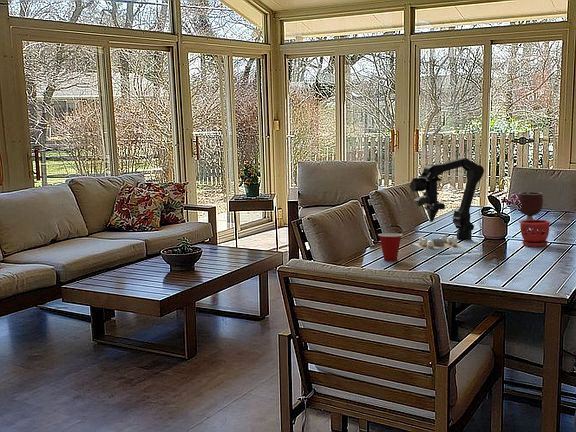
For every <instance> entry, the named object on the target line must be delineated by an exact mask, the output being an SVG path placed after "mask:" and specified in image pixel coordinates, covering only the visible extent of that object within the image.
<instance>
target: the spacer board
mask: <svg viewBox="0 0 576 432" xmlns="http://www.w3.org/2000/svg"><path fill="white" fill-rule="evenodd" d="M412 245H414V246H416V247H419V248H421V249H423V250H432V249H435V250H436V249H445V248H446V249H447V248H453V247H452V245H450V244H449V240H447V243H445V245H444V246H434V248H432V249H430V248H428V241H427V246H426V247H423V246H422V244H419V242H416V243H412ZM458 247H459V248H460V247H463V245H462V244H459V243H457V247H456V248H458Z"/></svg>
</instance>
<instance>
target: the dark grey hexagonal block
mask: <svg viewBox="0 0 576 432" xmlns="http://www.w3.org/2000/svg"><path fill="white" fill-rule="evenodd" d="M431 240H433V241H434V246H444V245H445V240H444V239H442V238H433V239H431Z"/></svg>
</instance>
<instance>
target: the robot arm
mask: <svg viewBox="0 0 576 432" xmlns="http://www.w3.org/2000/svg"><path fill="white" fill-rule="evenodd" d="M459 168H462V169H463V170H465V172H466V175H465V176H466V177H465V178H466V185H465V188H464V191H463V195H462V199H461V202H460V205H459V208H458V209H457V210H454V211H453V216H452V217H451V218H452V222H453V224H454V226H455V228H456V229H457V231H456V239H457V241H470V242H474V240H473V238H472V237H473V236H472V235H473V233H472V231H474V228H475V225H474V224H473V223H472V222H471V212H470V209H471V206H472V203H473V200H474V199H473V198H474V196H475V192H476V188H477V185H478V183H479V182H480V180H482V178H483V177H484V176H483V175H484V172H485V168H484V167H483V166H482V165H481V164H477V163H475V162H473V161H471V160H470V159H469V158H467V157H459V158H457V159H453V160H450V161H446V162H442V163H438V164H435V163H434V164H426V165H425V166H424V168H423V171H422V173H421V174H420V175H419V177H412V180H411V181H410V184H409V189H410V190H411V191H412V192H413V193H415V192H423V194H422V195H421V196H419V197H416V198H414V199H413V201H414V204H415V207H422V206H423V209H424V210H425V211H426V212H427V215H428V220H429V222H430V223H432V222H434V220H435V218H436V216H437V214H438V212H439V210H446V205H445V204H444V203H443V202H440V200H438V196H439V194H440V192H438V182H441V181H442V179H441V178H440V177H439V176H440V175H442V174H443V173H445V172H448V171H451V170H455V169H459Z"/></svg>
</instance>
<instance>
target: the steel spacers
mask: <svg viewBox="0 0 576 432" xmlns="http://www.w3.org/2000/svg"><path fill="white" fill-rule="evenodd" d="M441 239H444V240H445V243H447V241H449V244H450V245H452V247H451V248H458V247H457V244H458V239H457V238H455V236H448V234H441ZM427 242H428V248H430V249H429V250H432V248H434V241H433V240H432V239H429V240H428V238H426V237H425V236H419V237H418V243H419V244H422V246H423V247H426V246H427Z"/></svg>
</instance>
